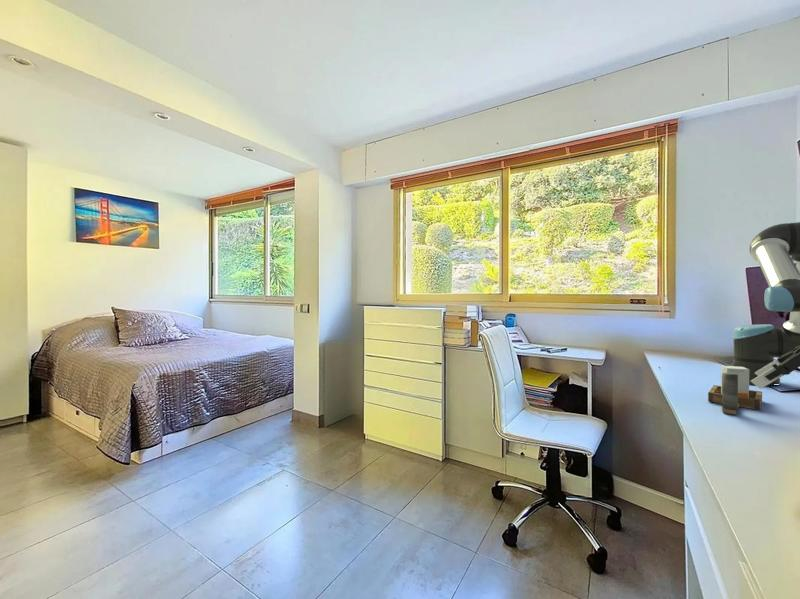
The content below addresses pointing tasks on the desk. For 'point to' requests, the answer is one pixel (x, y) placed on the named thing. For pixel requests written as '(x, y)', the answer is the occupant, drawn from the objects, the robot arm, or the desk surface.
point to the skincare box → (742, 379)
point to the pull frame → (733, 395)
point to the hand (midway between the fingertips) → (757, 380)
